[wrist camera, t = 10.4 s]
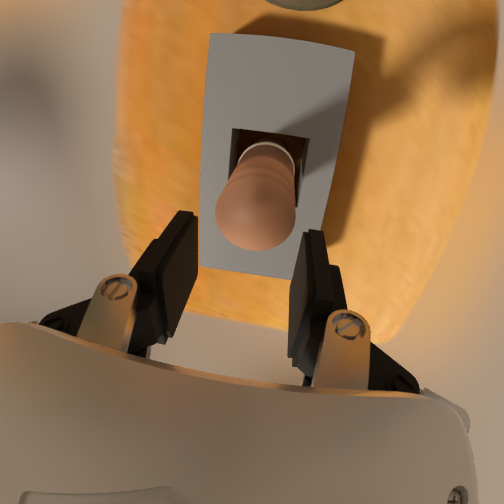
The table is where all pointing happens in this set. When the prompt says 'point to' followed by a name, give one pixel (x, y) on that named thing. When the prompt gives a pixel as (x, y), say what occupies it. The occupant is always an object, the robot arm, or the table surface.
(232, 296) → the table surface
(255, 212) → the dowel
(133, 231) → the table surface
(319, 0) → the candlestick holder
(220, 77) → the seat board
